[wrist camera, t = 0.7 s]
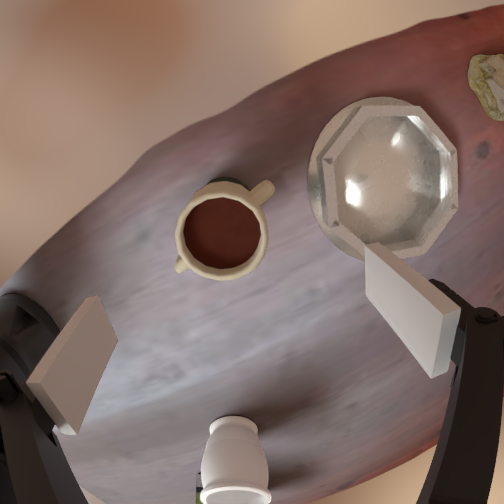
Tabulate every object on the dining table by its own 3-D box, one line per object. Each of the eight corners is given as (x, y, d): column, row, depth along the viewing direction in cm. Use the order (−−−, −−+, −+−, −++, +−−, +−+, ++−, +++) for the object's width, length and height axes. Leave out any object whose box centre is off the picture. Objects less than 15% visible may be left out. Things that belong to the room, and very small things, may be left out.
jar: (192, 419, 47) (185, 493, 33) (248, 403, 46) (254, 481, 32) (221, 450, 51) (221, 516, 37) (272, 436, 50) (281, 505, 36)
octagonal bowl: (315, 274, 39) (321, 284, 36) (295, 100, 32) (301, 97, 29) (450, 247, 39) (461, 254, 37) (445, 99, 32) (458, 98, 29)
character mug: (211, 256, 38) (202, 312, 25) (169, 212, 36) (138, 251, 23) (282, 195, 36) (308, 225, 23) (241, 148, 34) (245, 152, 21)
